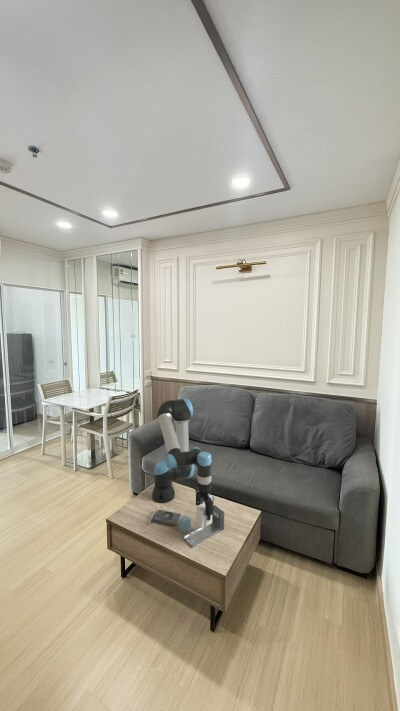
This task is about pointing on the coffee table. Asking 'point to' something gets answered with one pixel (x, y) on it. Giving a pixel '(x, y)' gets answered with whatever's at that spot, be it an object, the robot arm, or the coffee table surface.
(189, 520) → the block
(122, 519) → the coffee table surface
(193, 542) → the rail
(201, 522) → the block
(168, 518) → the graphics card
